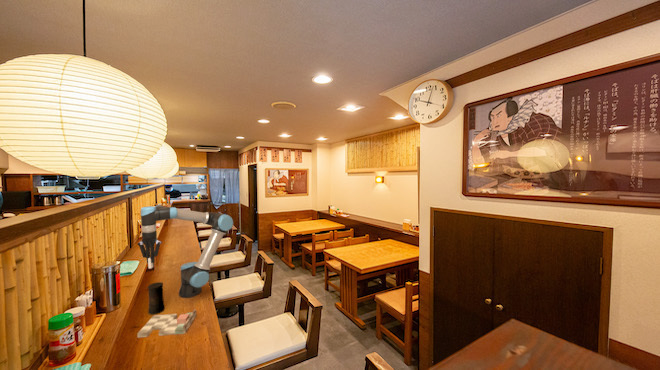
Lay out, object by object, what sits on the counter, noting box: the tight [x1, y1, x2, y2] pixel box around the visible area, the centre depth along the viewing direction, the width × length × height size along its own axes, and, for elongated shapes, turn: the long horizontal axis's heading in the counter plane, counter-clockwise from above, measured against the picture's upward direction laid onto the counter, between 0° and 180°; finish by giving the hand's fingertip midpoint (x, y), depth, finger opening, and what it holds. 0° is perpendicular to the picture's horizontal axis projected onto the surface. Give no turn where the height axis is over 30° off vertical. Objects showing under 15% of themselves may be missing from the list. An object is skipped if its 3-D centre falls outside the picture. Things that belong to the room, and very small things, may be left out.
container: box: [147, 281, 165, 316], centre depth 165 cm, size 9×9×18 cm
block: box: [176, 313, 189, 324], centre depth 151 cm, size 5×5×3 cm
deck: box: [136, 308, 197, 339], centre depth 150 cm, size 17×25×4 cm
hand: (150, 267), depth 157 cm, fingers closed
